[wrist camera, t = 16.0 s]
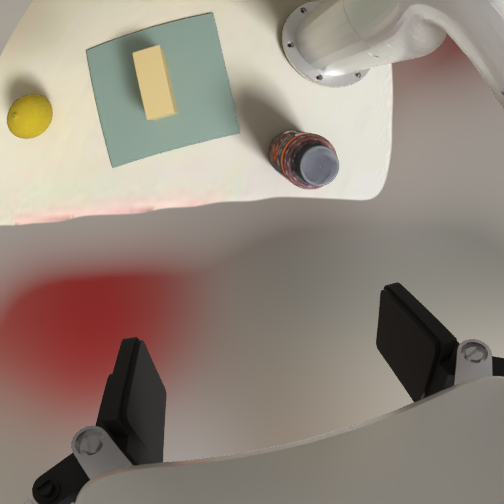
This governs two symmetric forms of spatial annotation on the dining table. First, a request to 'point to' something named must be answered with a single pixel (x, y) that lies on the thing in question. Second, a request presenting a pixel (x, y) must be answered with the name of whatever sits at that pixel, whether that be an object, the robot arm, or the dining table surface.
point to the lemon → (29, 116)
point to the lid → (162, 89)
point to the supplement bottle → (304, 159)
